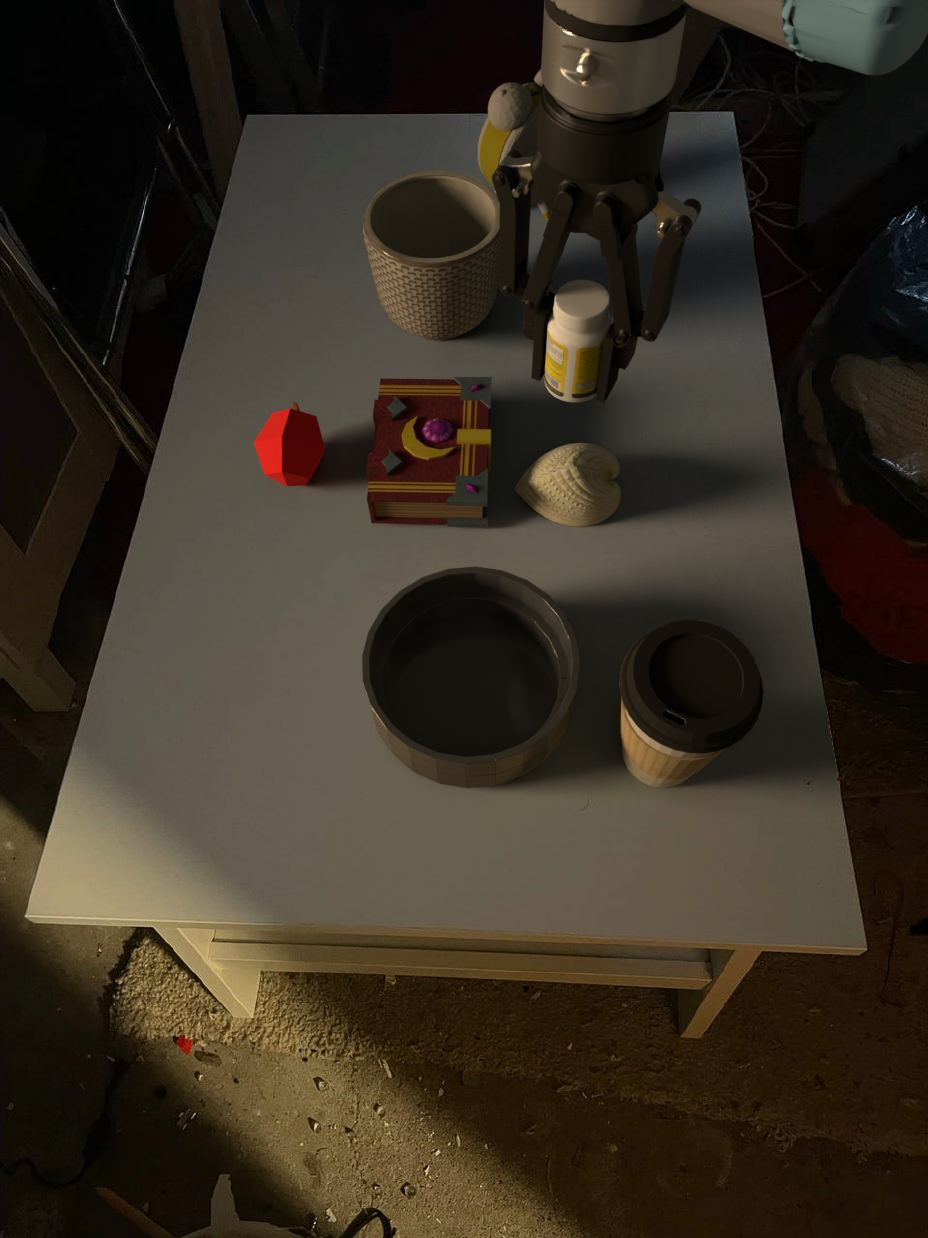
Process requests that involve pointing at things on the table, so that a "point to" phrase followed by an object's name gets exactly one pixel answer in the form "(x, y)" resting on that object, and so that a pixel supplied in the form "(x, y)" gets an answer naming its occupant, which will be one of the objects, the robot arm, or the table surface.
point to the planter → (434, 251)
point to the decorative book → (431, 452)
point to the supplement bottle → (576, 340)
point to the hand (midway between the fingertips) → (574, 378)
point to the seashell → (573, 485)
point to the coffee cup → (685, 699)
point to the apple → (290, 446)
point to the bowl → (471, 676)
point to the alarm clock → (512, 130)
